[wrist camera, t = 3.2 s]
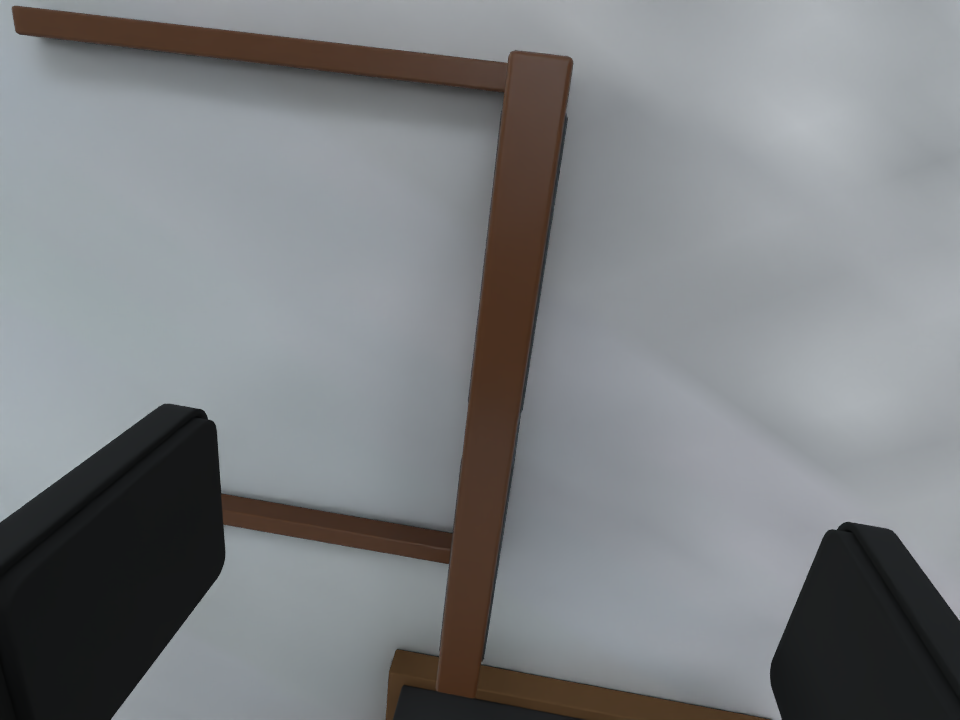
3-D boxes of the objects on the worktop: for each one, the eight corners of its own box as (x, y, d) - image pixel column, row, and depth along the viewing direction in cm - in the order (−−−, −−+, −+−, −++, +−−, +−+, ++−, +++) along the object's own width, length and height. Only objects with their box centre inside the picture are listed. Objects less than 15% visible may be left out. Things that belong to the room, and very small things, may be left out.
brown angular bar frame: (573, 72, 14) (577, 57, 9) (498, 555, 20) (477, 701, 15) (36, 9, 15) (-208, -34, 10) (109, 488, 21) (-27, 605, 16)
